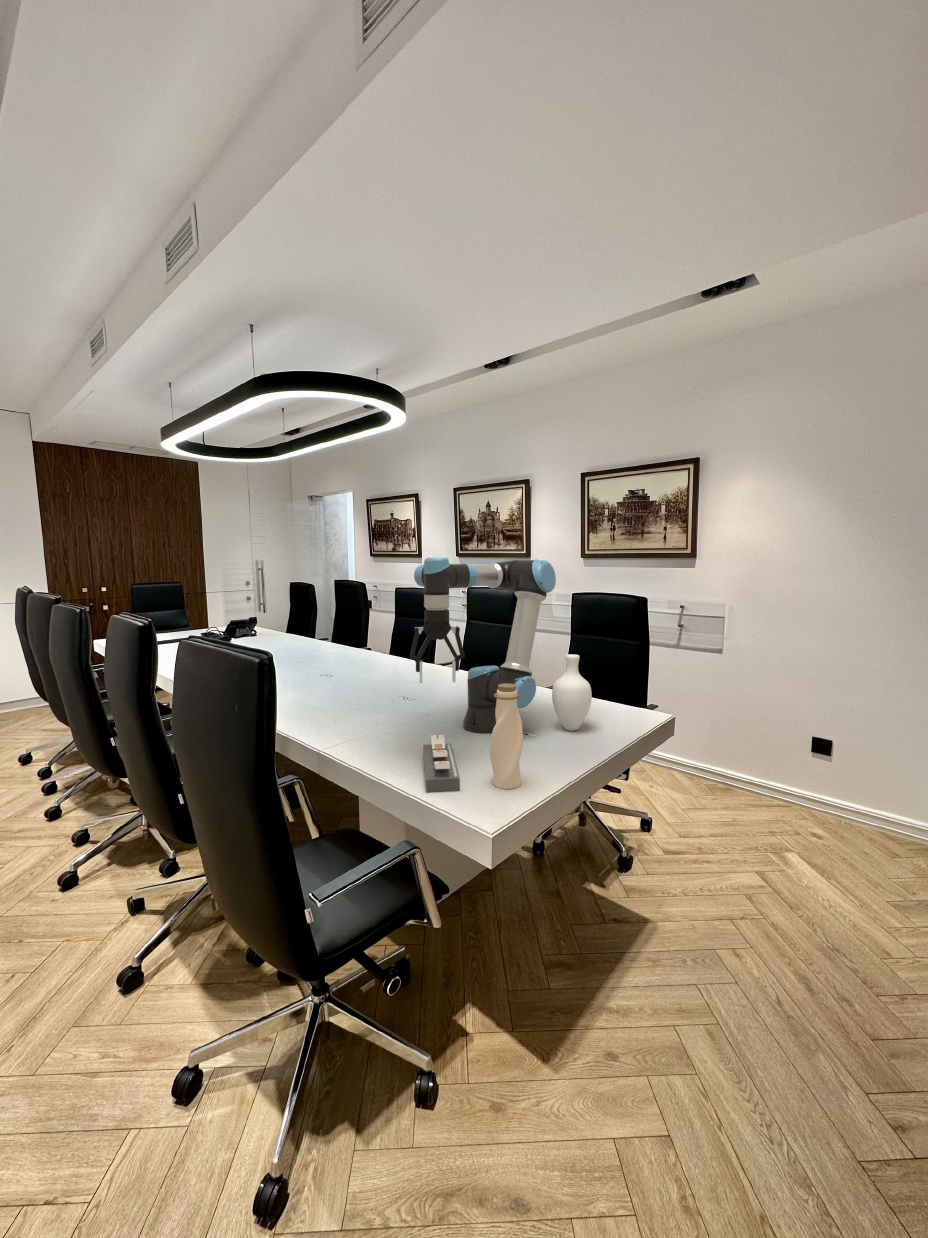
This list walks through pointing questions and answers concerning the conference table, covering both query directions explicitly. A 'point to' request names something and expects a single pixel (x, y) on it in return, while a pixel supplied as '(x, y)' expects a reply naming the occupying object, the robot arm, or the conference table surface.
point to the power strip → (440, 771)
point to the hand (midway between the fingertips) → (437, 681)
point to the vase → (571, 695)
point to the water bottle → (506, 739)
